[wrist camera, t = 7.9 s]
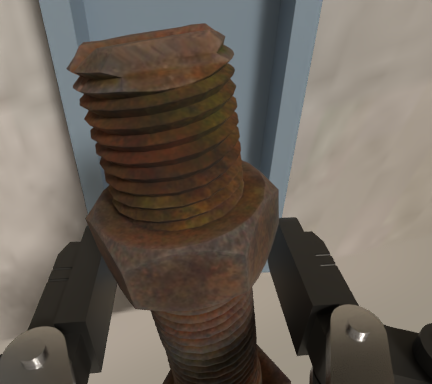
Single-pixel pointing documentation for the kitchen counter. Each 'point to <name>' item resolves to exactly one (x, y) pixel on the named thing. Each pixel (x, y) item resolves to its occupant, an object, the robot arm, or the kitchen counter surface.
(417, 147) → the kitchen counter surface
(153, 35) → the bolt
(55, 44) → the parts tray
